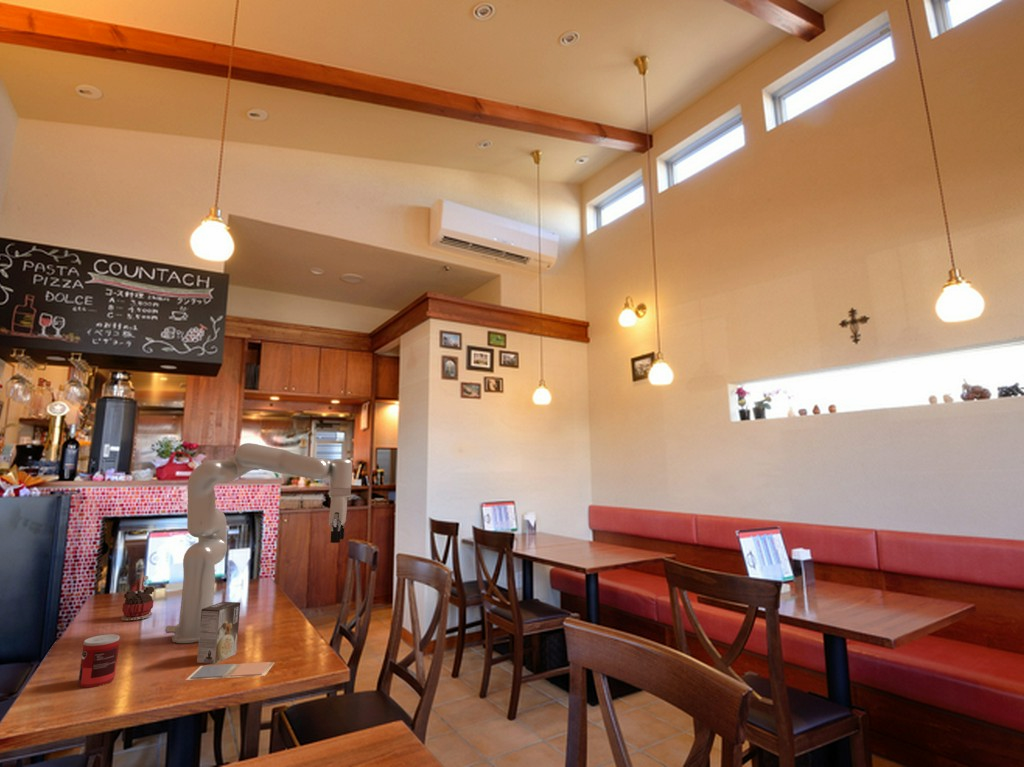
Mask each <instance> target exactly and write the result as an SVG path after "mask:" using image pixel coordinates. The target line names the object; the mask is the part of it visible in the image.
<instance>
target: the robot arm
mask: <svg viewBox="0 0 1024 767" xmlns="http://www.w3.org/2000/svg"><path fill="white" fill-rule="evenodd" d="M254 469H258V470H261V471H262V470H263V471H268V472H273V473H279V474H285V475H286V474H287V475H290V476H294V477H295V476H296V477H299V478H301V477H302V478H306V479H311V480H324V479H330V480H329V494H328V495H329V498H331V499H330V506H329V507H330V508H329V516H328V525H329V526H331V531H330V540H329V541H330V543H331V544H339V543H341V540H343V539H345V523H346V521H347V513H348V512H347V511H348V498H351V497H352V496H351V495H352V494H351V493H352V479H353V478H352V477H353V461H352V460H350V459H347V458H345V459H344V458H343V459H341V458H337V459H327V458H323V457H321V458H320V457H314V456H309V455H303V454H298V453H294V452H291V451H289V450H286V449H283V448H282V449H281V448H277V447H272V446H268V445H267V446H266V445H261V444H257V443H250V442H247V443H243V444H241V445H239V446H238V447H237V448H236V450H235V452H234V454H233V455H231V456H229V457H228V458H225V459H210V460H206V461H205V462H203V463H200V464H199V465H198V466H196V467H195V468H194V469H193V470H192V471H191V474H190V475H189V478H188V481H187V508H186V509H187V510H186V511H187V516H186V517H187V519H186V520H187V521H186V522H187V525H186V527H187V532H188V533H189V535H190V536H192V537H193V538H198V539H197V540H198V541H197V542H195V543H193V544H192V545H191V546H189V547H188V549H187V550H186V551H185V553H184V555H183V561H182V567H183V581H182V582H183V583H182V592H181V601H180V612H179V620H178V624H177V625H166V627H165V630H164V632H165V634H171V633H173V635H172V637H171V641H172V642H173V643H175V642H176V643H175V644H192V643H193V644H194V643H199V634H200V623H201V612H202V609H203V608H206V607H209V606H212V605H214V598H215V585H216V573H215V572H216V569H215V565H217V564H218V563H220V562H222V560H224V558H225V556H226V555H227V554H226V553H227V551H228V550H227V549H228V532H227V530H228V529H227V528H228V527H227V526H228V525H227V517H226V515H225V514H224V512H223V511H222V510H220V509H219V508H216V492H215V485H216V484H217V485H218V484H228V483H230V482H233V481H235V480H236V479H239V478H241V477H242V476H244V475H246V474H247V473H250V472H251V471H253V470H254Z"/></svg>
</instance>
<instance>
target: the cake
mask: <svg viewBox="0 0 1024 767" xmlns="http://www.w3.org/2000/svg"><path fill="white" fill-rule="evenodd" d="M144 571H145V569H144V568H142V569H140V574H139V575H140V576H139V578H138V579H137V580H136V581H135V582H134V583H133V584H132V585H131V586H132V587H131V588H130V590H129V591H126V593H124V594H123V595H124V596H123V599H124V600H125V601H124V602H123V604H122V607H121V608H122V610H121V611H122V613H123V615H122V616H121V618H120V619H121V620H122V621H130V620H133V621H139V620H138V619H141V620H144V618H145V619H147V618H150V617H152V615H153V612H151V611H152V609H153V608H154V601H155V600H154V599H153V597H152V595H153V593H154V592H155V588H154V587H153V586H148V587H146V586H145V584H144V583H145V581H146V582H147V581H148V580H149V576H148V575H144V573H145V572H144Z"/></svg>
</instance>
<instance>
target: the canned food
mask: <svg viewBox="0 0 1024 767" xmlns="http://www.w3.org/2000/svg"><path fill="white" fill-rule="evenodd" d="M119 647H120V635H118V634H113V633H111V634H101V635H96V636H95V635H94V636H92V637H89V638H86V639H84V641H83V645H82V651H81V660H80V668H79V675H78V685H80V686H79V687H81V686H82V687H81V688H94V687H93V686H96V687H100V686H99V685H101V686H104V685H107V684H109V683H111V682H112V681H113V680H115V676H116V670H117V662H118V661H117V660H118V657H119V656H118V655H119V654H118V653H119ZM106 683H107V684H106ZM103 684H104V685H103Z"/></svg>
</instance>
